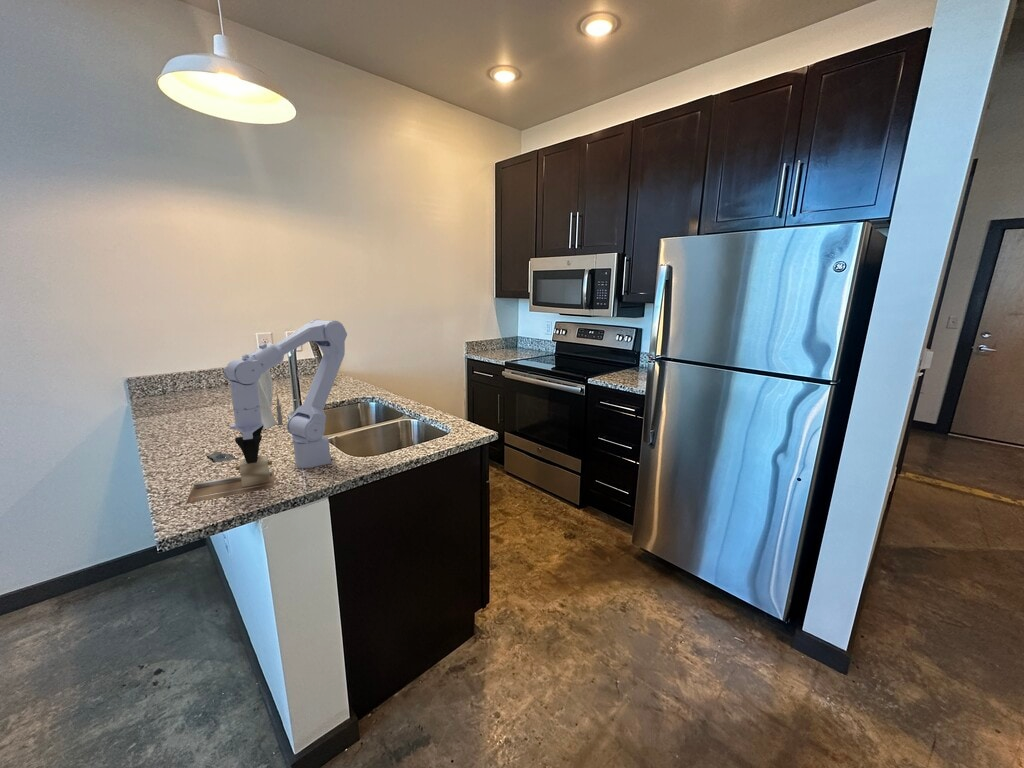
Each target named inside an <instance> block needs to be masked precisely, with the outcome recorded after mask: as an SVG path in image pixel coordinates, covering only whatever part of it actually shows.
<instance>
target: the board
mask: <svg viewBox="0 0 1024 768" xmlns="http://www.w3.org/2000/svg"><path fill="white" fill-rule="evenodd" d="M269 474H270V481H269V482H267V483H261V484H256V485H250V486H245V487H242V481H241V475H235V476H230V477H225V478H218V479H213V480H207V481H201V482H194V484H193V487H192V488H191V491H190V493H189V495H188V497H187V500H186V501H185V504H186V505H187V504H192V503H197V502H203V501H209V500H213V499H220V498H225V497H231V496H235V495H240V494H248V493H253V492H256V491H257V492H258V491H263V490H264V491H265V490H267V489H274V488H275V486H274V485H275V483H274V482H275V470H274V469H273V470H272V469H271V470H269Z"/></svg>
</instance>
